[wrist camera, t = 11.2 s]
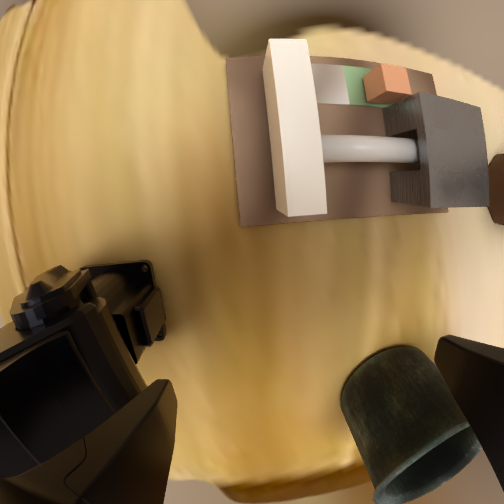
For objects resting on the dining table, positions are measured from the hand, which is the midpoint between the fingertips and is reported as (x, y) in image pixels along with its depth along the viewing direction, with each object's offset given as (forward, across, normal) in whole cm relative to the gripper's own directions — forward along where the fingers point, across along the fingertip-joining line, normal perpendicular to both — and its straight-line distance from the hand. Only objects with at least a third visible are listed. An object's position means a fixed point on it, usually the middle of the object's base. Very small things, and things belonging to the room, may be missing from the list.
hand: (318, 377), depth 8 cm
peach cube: (+12, -9, -12) cm, 19 cm away
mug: (+13, -12, +15) cm, 23 cm away
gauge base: (+13, -6, -9) cm, 17 cm away
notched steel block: (+13, -12, -8) cm, 19 cm away
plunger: (+11, -5, -9) cm, 15 cm away
